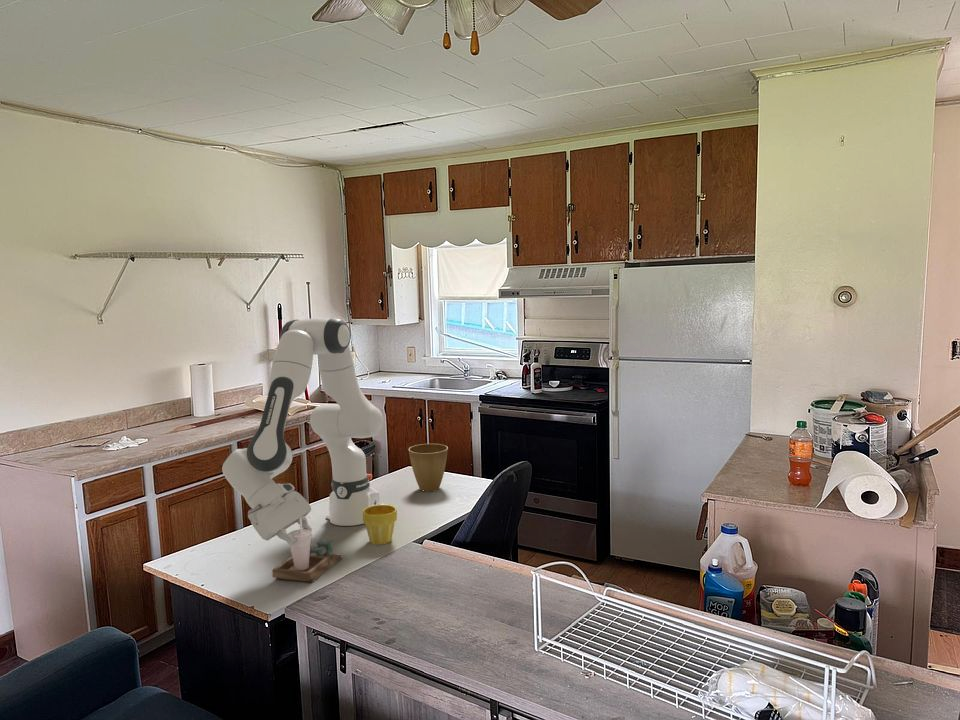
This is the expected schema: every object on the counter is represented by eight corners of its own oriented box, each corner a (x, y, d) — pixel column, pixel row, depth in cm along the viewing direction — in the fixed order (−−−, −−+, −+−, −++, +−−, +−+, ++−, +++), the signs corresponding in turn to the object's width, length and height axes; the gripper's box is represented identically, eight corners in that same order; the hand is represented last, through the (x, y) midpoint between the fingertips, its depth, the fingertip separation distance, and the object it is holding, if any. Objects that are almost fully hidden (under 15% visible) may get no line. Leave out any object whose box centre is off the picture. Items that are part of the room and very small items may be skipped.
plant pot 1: (405, 538, 207) (403, 507, 206) (382, 549, 198) (380, 517, 197) (380, 532, 213) (378, 502, 212) (356, 543, 204) (355, 511, 203)
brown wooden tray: (311, 552, 198) (310, 538, 197) (344, 555, 195) (343, 541, 194) (272, 580, 179) (271, 565, 179) (309, 584, 176) (308, 569, 176)
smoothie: (307, 573, 179) (304, 522, 178) (285, 571, 180) (281, 521, 179) (317, 563, 185) (314, 514, 184) (295, 562, 187) (292, 513, 185)
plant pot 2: (405, 494, 251) (403, 452, 250) (416, 483, 266) (414, 443, 264) (444, 495, 249) (442, 453, 247) (453, 483, 263) (451, 443, 261)
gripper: (251, 504, 173) (287, 544, 171) (294, 482, 192) (327, 517, 190) (237, 520, 174) (273, 559, 173) (282, 496, 194) (314, 531, 192)
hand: (301, 537), depth 182 cm, fingers closed on smoothie, 6 cm apart
